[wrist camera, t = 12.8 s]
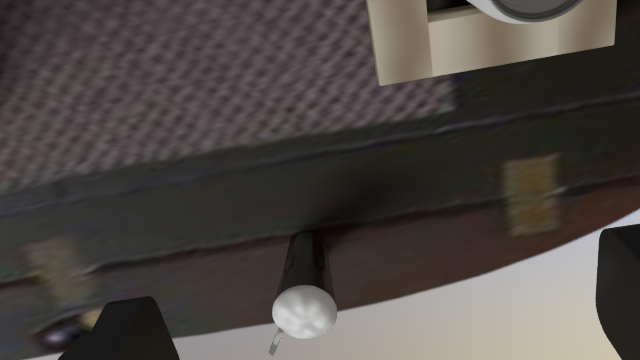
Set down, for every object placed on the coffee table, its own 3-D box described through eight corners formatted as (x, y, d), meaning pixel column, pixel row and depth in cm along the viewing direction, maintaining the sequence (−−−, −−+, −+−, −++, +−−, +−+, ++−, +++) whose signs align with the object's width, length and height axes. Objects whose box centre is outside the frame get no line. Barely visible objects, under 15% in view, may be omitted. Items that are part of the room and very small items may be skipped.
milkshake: (262, 250, 46) (247, 335, 37) (310, 214, 44) (307, 294, 35) (298, 282, 47) (292, 372, 38) (345, 250, 46) (351, 335, 37)
